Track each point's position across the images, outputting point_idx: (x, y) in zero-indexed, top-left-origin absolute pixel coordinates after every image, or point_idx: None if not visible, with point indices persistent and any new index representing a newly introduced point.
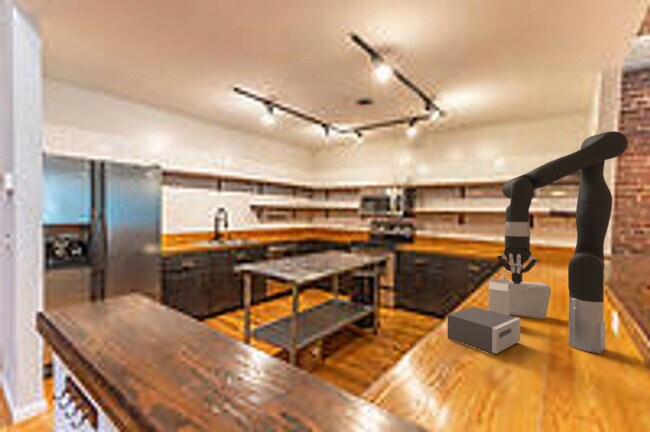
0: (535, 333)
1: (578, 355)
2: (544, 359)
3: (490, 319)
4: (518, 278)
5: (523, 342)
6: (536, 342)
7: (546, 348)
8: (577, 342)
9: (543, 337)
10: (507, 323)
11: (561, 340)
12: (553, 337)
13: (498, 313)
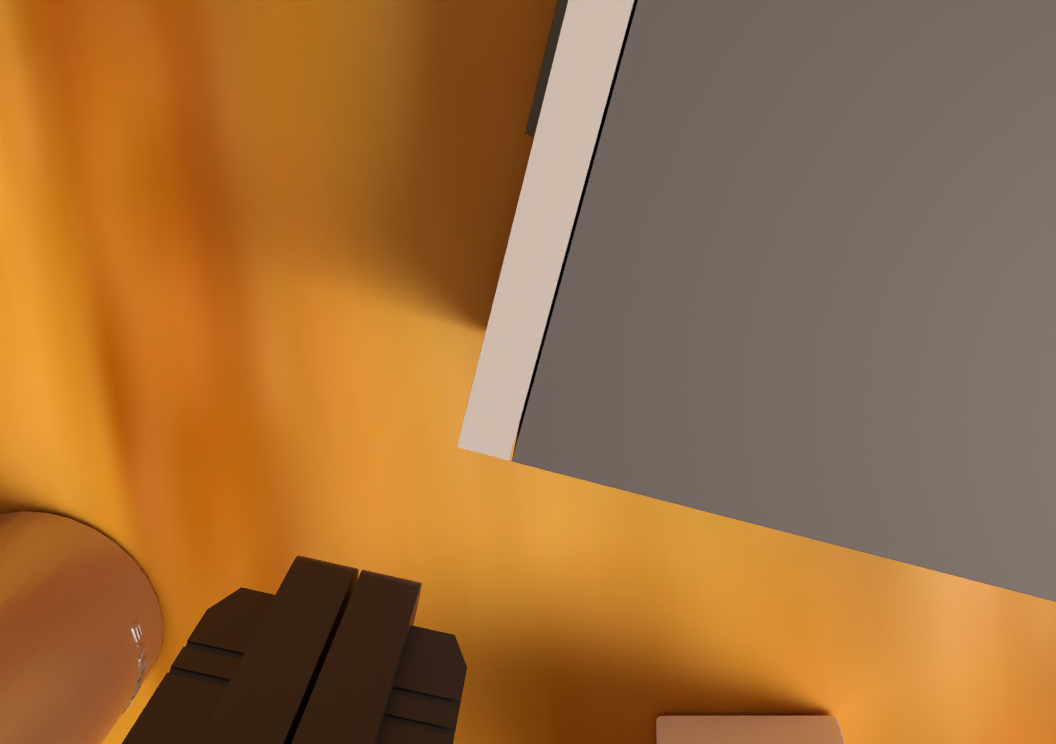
0: None
1: (58, 383)
2: (250, 66)
3: (798, 124)
4: (241, 679)
5: None
6: (377, 470)
7: (284, 373)
8: (58, 556)
9: None
10: (563, 97)
11: None
12: None
13: (731, 501)
